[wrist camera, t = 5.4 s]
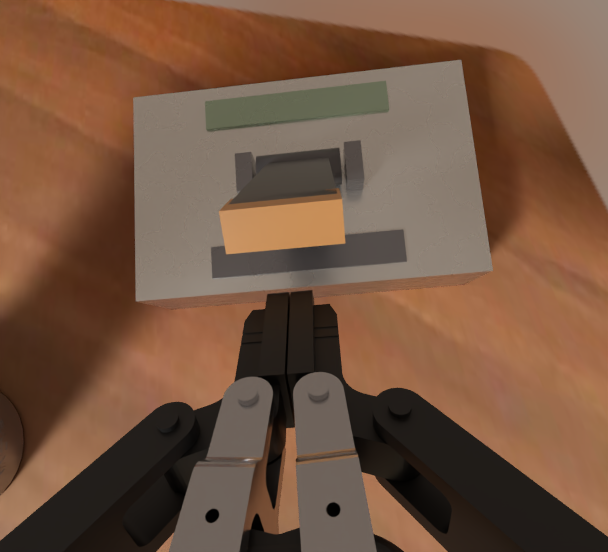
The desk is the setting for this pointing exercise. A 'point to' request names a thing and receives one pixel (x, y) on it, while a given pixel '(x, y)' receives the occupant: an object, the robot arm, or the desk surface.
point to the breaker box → (354, 190)
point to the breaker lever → (287, 204)
